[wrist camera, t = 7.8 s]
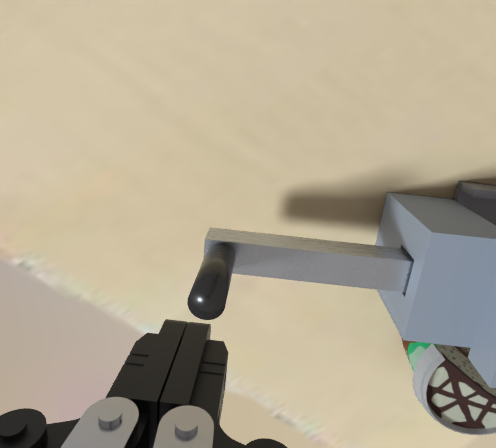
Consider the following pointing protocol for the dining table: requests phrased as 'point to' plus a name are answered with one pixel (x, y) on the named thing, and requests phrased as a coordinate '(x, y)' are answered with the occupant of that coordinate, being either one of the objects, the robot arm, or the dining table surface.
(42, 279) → the dining table surface
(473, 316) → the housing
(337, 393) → the dining table surface
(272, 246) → the grey lever black handle
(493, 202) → the tray
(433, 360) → the food container
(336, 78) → the dining table surface
